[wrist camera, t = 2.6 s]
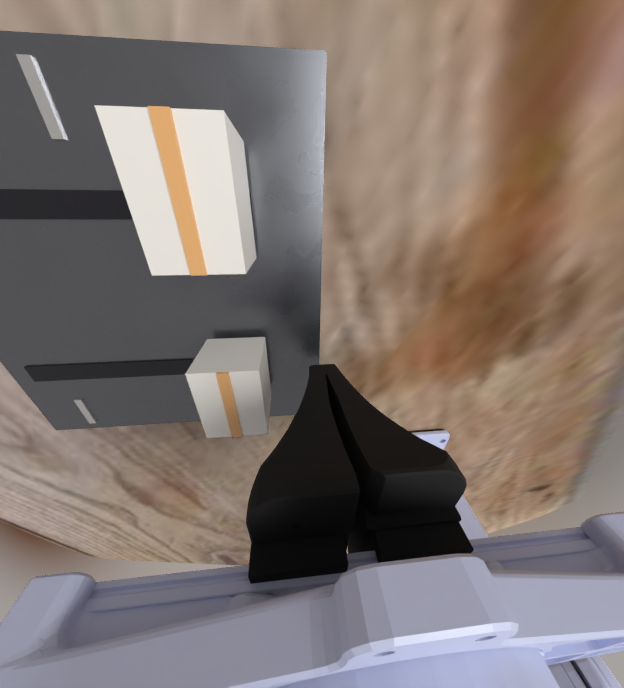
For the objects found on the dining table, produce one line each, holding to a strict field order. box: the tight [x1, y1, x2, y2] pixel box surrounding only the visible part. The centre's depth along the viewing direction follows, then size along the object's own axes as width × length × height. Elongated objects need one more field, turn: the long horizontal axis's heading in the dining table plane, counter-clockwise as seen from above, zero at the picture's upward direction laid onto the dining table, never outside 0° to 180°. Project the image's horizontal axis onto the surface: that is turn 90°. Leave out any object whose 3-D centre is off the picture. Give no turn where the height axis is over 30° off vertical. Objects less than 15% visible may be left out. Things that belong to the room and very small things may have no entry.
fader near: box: [94, 105, 256, 276], centre depth 8 cm, size 4×3×3 cm
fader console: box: [0, 31, 327, 430], centre depth 12 cm, size 17×17×2 cm
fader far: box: [185, 337, 271, 438], centre depth 12 cm, size 4×3×3 cm
